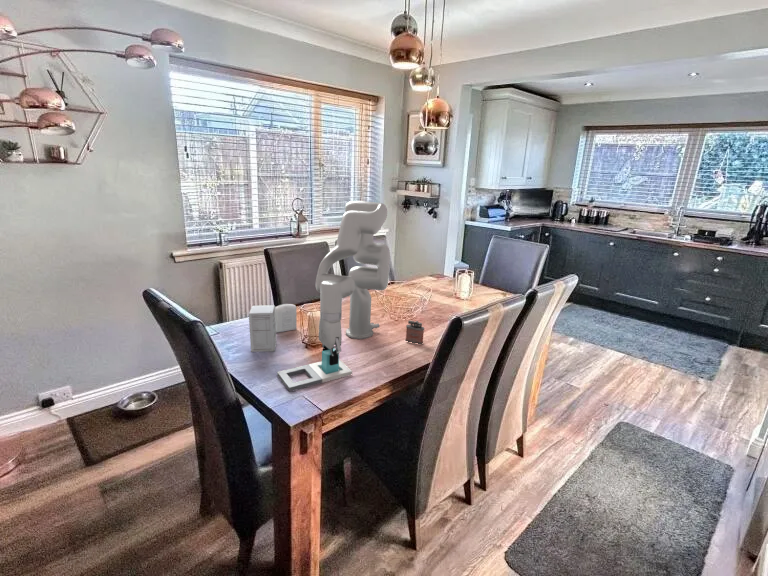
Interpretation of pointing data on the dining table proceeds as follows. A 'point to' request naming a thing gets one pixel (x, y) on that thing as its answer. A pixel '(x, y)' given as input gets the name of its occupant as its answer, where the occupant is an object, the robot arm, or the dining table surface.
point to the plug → (328, 363)
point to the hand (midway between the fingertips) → (330, 360)
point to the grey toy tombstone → (285, 317)
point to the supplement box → (262, 328)
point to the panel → (311, 375)
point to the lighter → (414, 332)
